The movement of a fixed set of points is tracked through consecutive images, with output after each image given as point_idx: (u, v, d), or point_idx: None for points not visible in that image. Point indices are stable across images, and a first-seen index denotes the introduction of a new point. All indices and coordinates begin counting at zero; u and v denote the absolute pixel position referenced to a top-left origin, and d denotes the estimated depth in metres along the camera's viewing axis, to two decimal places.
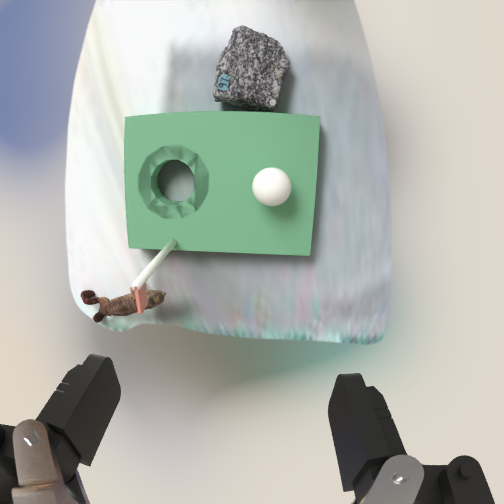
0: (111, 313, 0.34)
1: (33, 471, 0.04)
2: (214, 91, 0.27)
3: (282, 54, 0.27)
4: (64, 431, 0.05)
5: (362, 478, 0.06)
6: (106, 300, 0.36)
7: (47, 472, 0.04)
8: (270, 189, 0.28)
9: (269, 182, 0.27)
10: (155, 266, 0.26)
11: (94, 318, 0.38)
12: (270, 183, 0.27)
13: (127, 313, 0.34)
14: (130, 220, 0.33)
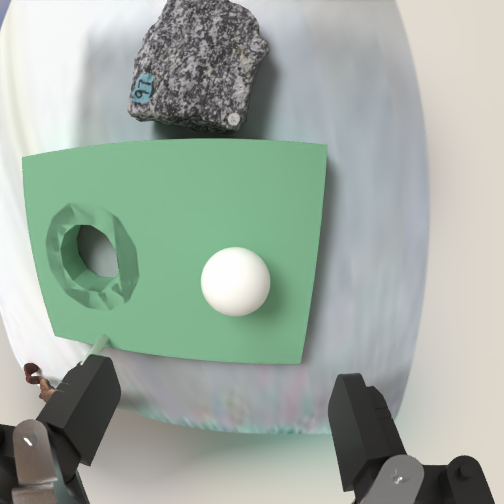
0: None
1: (33, 471, 0.04)
2: (129, 106, 0.14)
3: (255, 30, 0.14)
4: (64, 431, 0.05)
5: (362, 478, 0.06)
6: (46, 386, 0.24)
7: (47, 472, 0.04)
8: (228, 299, 0.15)
9: (226, 286, 0.15)
10: None
11: (40, 397, 0.25)
12: (228, 288, 0.15)
13: None
14: (48, 304, 0.20)
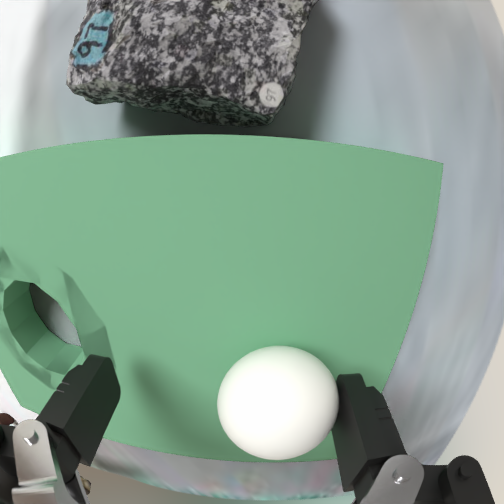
0: None
1: (34, 471, 0.04)
2: (69, 74, 0.06)
3: None
4: (64, 431, 0.05)
5: (362, 478, 0.06)
6: None
7: (47, 472, 0.04)
8: (270, 451, 0.07)
9: (267, 436, 0.07)
10: None
11: None
12: (271, 439, 0.07)
13: None
14: (5, 372, 0.12)
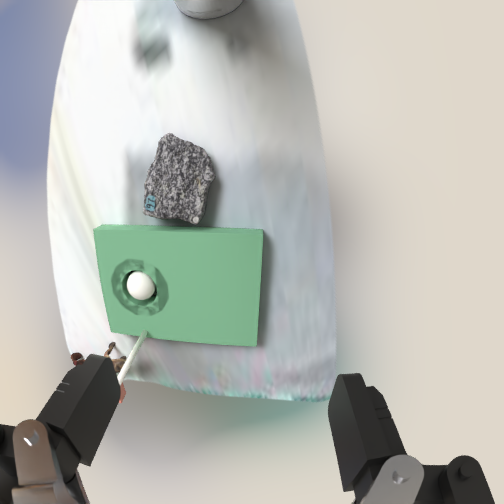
0: None
1: (34, 471, 0.04)
2: (144, 210, 0.32)
3: (207, 165, 0.32)
4: (64, 431, 0.05)
5: (362, 478, 0.06)
6: None
7: (47, 472, 0.04)
8: (151, 288, 0.36)
9: (149, 282, 0.36)
10: (129, 366, 0.32)
11: None
12: (150, 283, 0.36)
13: None
14: (109, 312, 0.38)
